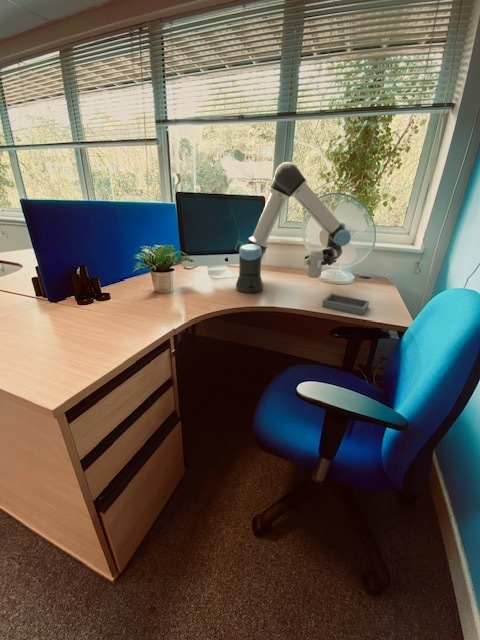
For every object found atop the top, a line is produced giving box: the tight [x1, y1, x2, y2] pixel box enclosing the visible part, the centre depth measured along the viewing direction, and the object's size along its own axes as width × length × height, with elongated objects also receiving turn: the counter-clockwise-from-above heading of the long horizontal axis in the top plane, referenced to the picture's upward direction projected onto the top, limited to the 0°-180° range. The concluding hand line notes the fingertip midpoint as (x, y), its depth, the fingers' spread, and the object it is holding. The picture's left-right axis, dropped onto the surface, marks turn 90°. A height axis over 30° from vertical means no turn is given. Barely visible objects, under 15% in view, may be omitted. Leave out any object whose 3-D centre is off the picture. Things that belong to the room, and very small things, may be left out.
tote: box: [321, 293, 370, 317], centre depth 123 cm, size 18×12×3 cm, turn 55°
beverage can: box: [306, 250, 323, 279], centre depth 125 cm, size 6×6×12 cm
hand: (311, 263), depth 120 cm, fingers closed on beverage can, 5 cm apart
